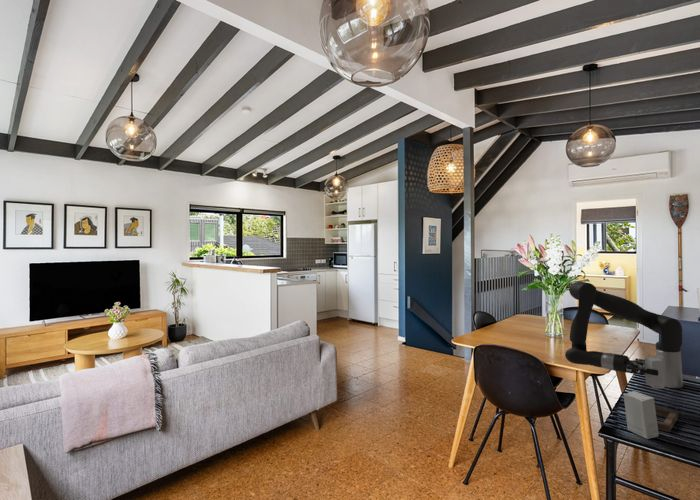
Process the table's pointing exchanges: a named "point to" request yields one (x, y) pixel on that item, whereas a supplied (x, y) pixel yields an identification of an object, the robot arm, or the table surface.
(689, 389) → the table surface
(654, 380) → the skincare box
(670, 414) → the walnut collar
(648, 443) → the table surface
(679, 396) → the table surface
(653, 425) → the skincare box
